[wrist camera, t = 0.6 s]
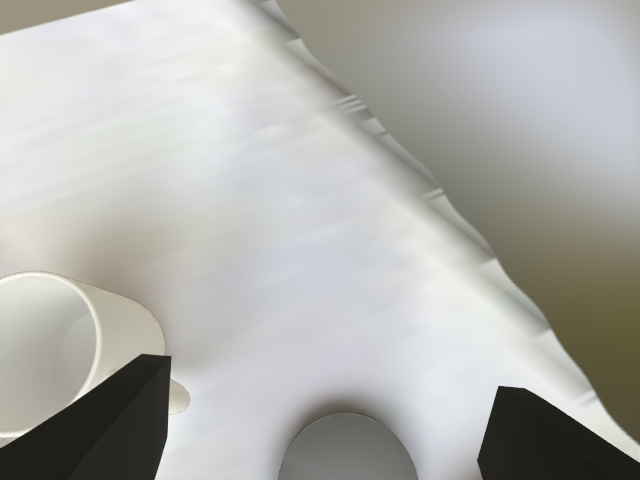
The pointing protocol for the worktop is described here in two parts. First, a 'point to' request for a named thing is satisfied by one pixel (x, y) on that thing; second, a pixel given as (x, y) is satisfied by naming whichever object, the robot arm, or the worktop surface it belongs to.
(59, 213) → the worktop surface
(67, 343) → the mug
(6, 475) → the robot arm
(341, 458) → the slate pedestal
